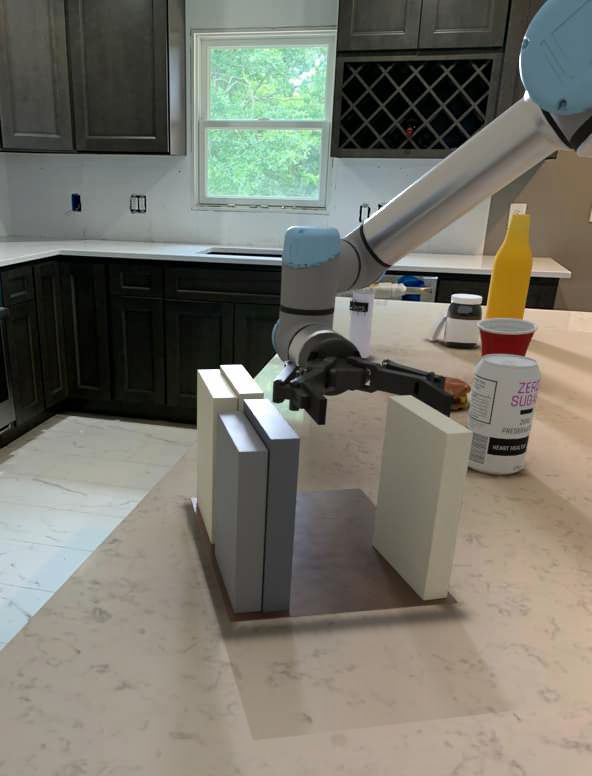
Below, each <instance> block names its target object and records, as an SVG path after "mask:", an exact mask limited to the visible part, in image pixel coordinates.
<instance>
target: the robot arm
mask: <svg viewBox="0 0 592 776" xmlns="http://www.w3.org/2000/svg"><path fill="white" fill-rule="evenodd" d="M519 53H520V54H519V74H520V80H521V82H522V85H523V87H524V90H525V92H524V95H523V97H521V98H520V99H519V100H518V101H517V102H515V103H514V104H512V105H511V106H509V108H508V109H506V110H505V111H503V112H502V113H501V114H500V115H498V116H497V117H496V118H494V119H493V120H492V121H491V122H490V123H488V124H487V125H486V126H485V127H483V128H482V129H480V130H479V131H478V132H477V133H475V134H474V135H473V136H471V137H470V138H469V139H468V140H466V141H465V142H464V143H462V144H461V145H460V146H458V148H456V149H455V150H454V151H452V152H451V153H450V154H449V155H447V156H446V157H445V158H443V159H442V160H441V161H440V162H438V163H437V164H436V165H434V166H433V167H432V168H430V169H429V170H428V171H427V172H425V173H424V174H423V175H422V176H420V177H419V178H418V179H416V180H415V181H414V182H413V183H412V184H410V185H409V186H407V187H406V188H405V189H404V190H402V191H401V192H400V193H399V194H397V195H396V196H395V197H394V198H392V199H391V200H390V201H389V202H386V204H385V205H383V206H382V207H381V208H379V209H378V210H377V211H376V212H374V213H373V214H372V215H370V217H368V218H367V219H366V220H364V222H363V223H361V224H359V225H358V226H356V227H355V228H354V229H352V230H351V231H350V232H348V234H347V235H345V236H343V237H341V234H340V232H339V229H337V228H336V227H332V226H323V225H322V226H321V225H293V226H291V227H289V228H287V230H286V231H285V234H284V239H283V248H282V249H283V250H282V254H281V276H280V277H281V278H280V279H281V281H280V307H279V316H278V317H279V318H278V320H277V321H276V323H275V324H274V326H273V328H272V332H271V343H272V346H273V349H274V350H275V353H276V354H277V355H278V358H279V359H280V360H281V362H283V364H284V368H283V369H282V370H281V371H280V372H279V373H278V375H276V377H274V379H273V381H272V398H271V399H272V401H271V402H272V403H273V404H282V403H284V402H285V401H287V400H288V401H289V402H288V410H289V411H291V412H299V411H300V410H304V411H305V412H306V413H307V414H308V416H309V417H310V418H311V419H312V420H313V421H314V423H316V425H317V426H325V425H326V422H327V421H326V420H327V409H328V398H326V396H327V397H335V396H339V395H341V394H344V393H345V392H346V393H347V391H350V392H354V391H360V392H364V393H369V394H373V393H375V392H384V393H388V394H392V395H395V396H405V395H411V396H413V397H415V398H416V399H418V400H420V401H422V402H423V403H425V404H427V405H428V406H430V407H432V408H433V409H435V410H437V411H438V412H440V413H442V414H444V415H445V416H447V417H449V418H450V419H451V412H452V411H451V410H452V409H451V405H452V398H453V396H452V395H451V394H449V393H448V392H446V391H444V388H445V381H446V377H447V376H444V375H441V374H437V373H435V371H425V370H422V369H419V368H415V367H411V366H407V365H404V364H400V363H397V362H395V361H393V360H391V359H389V358H385V359H382V360H381V363H379V362H376V361H375V362H374V361H370V360H364V358H362V357H361V355H360V352H359V351H358V349H357V347H356V346H355V345H354V344H353V343H352V342H350V341H349V339H347V338H346V337H345V336H343V334H341V333H338V332H337V331H335V330H334V329H333V328H334V319H335V316H334V315H335V310H336V296H337V294H341V293H345V292H349V291H356V290H363V289H367V288H368V286H370V285H372V284H374V283H376V282H377V283H379V281H381V280H382V279H383V277H384V276H385V274H386V273H387V271H388V270H389V269H390V268H392V267H393V266H394V265H395V264H396V263H398V262H399V261H401V260H402V259H404V258H405V257H406V256H408V255H409V254H411V253H413V252H414V251H415V250H416V249H418V248H419V247H421V246H422V245H423V244H425V243H427V242H428V241H429V240H431V239H432V238H434V237H435V236H436V235H438V234H439V233H441V232H442V231H444V230H446V228H448V227H449V226H451V225H452V224H453V223H455V222H457V221H458V220H459V219H460V218H463V217H464V216H465V215H467V214H468V213H469V212H471V211H472V210H473V209H475V208H477V207H478V206H479V205H480V204H482V203H484V202H485V201H486V200H488V199H489V198H491V197H492V196H494V195H495V194H496V193H498V192H499V191H501V190H502V189H503V188H505V187H506V186H508V185H509V184H511V183H512V182H513V181H515V180H516V179H518V178H519V177H521V176H522V175H524V174H525V173H526V172H528V171H530V169H532V168H533V167H534V166H536V165H538V164H539V163H540V162H542V161H543V160H545V159H546V158H548V157H549V156H550V155H552V154H553V153H554V152H556V151H565V152H566V151H567V152H570V151H572V150H574V152H575V154H576V155H577V156H578V157H581V158H590V159H592V0H546V1H545V2H544V4H543V5H542V6H541V7H540V8H539V9H538V11H537V12H536V14H535V15H534V16H533V18H532V20H531V22H530V23H529V25H528V27H527V29H526V31H525V34H524V36H523V41H522V43H521V48H520V51H519ZM367 383H369V384H367Z"/></svg>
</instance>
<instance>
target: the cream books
mask: <svg viewBox="0 0 592 776" xmlns="http://www.w3.org/2000/svg"><path fill="white" fill-rule="evenodd" d="M196 371H197V372H196V373H197V374H196V376H197V377H196V379H197V380H196V411H197V412H196V497H197V503H198V506H199V509H200V512H201V515H202V518H203V521H204V524H205V527H206V530H207V533H208V536H209V539H210V542H211V544H215V511H216V446H217V412H222V411H243V402H244V400H249V399H265V392H264V391H263V389H261V387H260V386H259V384H258V383H257V382H256V381H255V380H254V379H253V378H252V376H251V375H250V373H249V372H248V371H247V370H246V368H245V367H244V366H243V365H242V364H220V365H219V368H218V369H217V368H215V369H196Z"/></svg>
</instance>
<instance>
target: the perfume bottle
mask: <svg viewBox="0 0 592 776" xmlns="http://www.w3.org/2000/svg"><path fill="white" fill-rule="evenodd" d="M379 286H380V283H379V282H376V283H374V284H372V285H370V286H368V287H367V289H369V288H370V289H371V288H378V287H379ZM375 296H376V292H374V291H371V290H370V291H369V290H353V292H352V296H350V298H349V307H348V308H349V309H348V310H349V312H350V323H349V335H348V340H349V341H350V342H352V343H353V344H354V345H355V346H356V347H357V349H358V351H359V352H360V355H361V357H362V359H366V358H369V357H370V349H371V338H372V327H373V318H374V307H375V306H374V305H375Z"/></svg>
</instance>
